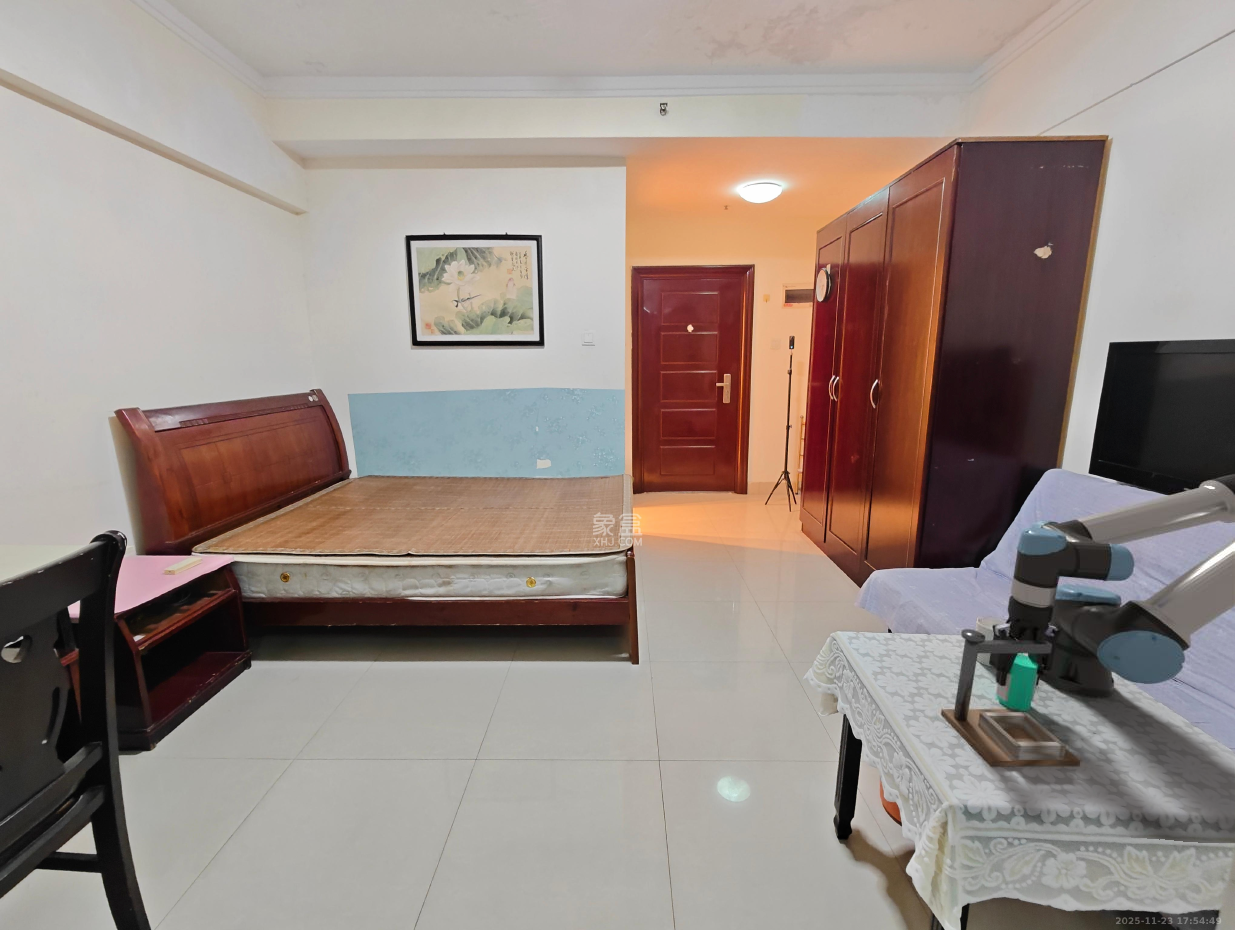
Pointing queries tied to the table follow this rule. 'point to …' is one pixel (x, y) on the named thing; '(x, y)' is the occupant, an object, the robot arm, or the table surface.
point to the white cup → (986, 635)
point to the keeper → (971, 649)
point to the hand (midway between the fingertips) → (1014, 697)
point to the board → (1011, 738)
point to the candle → (1021, 683)
